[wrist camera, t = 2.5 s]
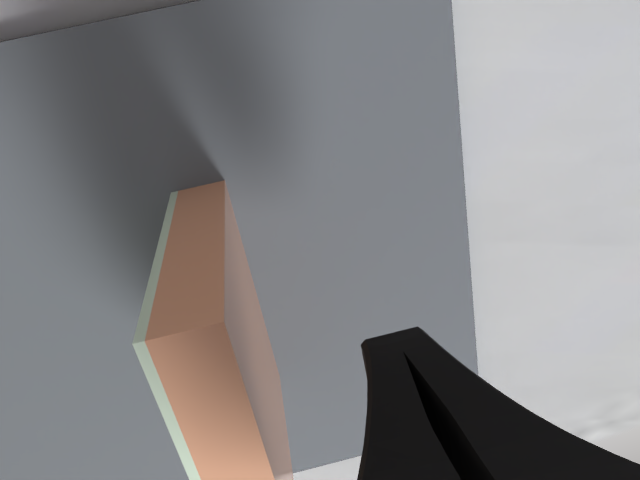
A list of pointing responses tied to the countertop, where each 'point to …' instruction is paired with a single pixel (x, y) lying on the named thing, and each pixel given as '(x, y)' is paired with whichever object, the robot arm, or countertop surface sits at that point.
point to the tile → (211, 345)
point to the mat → (248, 205)
